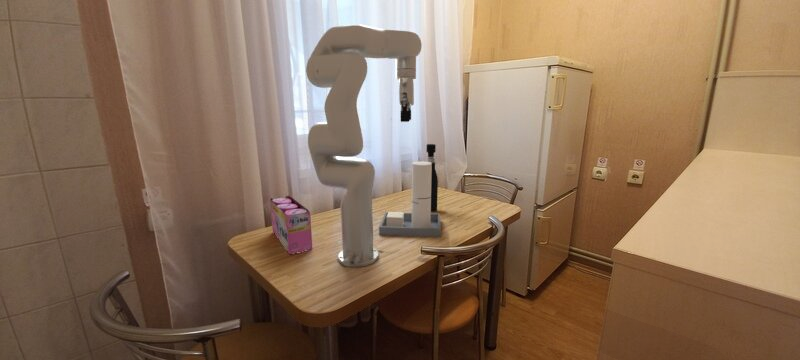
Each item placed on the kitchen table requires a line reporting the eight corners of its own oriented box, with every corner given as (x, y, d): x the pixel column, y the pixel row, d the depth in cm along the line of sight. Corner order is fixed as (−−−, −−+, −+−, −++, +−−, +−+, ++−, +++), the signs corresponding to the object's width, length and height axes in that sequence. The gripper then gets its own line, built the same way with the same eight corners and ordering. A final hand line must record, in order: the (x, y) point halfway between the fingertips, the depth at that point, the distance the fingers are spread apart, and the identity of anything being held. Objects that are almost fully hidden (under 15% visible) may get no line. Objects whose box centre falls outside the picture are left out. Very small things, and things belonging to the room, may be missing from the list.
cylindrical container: (429, 232, 117) (430, 165, 112) (410, 230, 119) (410, 164, 113) (431, 225, 124) (432, 161, 118) (413, 223, 126) (413, 161, 120)
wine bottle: (421, 213, 141) (422, 145, 134) (423, 208, 147) (424, 143, 140) (436, 214, 139) (437, 145, 132) (437, 209, 145) (439, 143, 138)
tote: (440, 239, 113) (440, 229, 112) (379, 237, 116) (379, 227, 115) (439, 223, 129) (439, 213, 128) (385, 221, 131) (385, 212, 130)
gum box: (271, 232, 121) (267, 197, 118) (292, 227, 126) (289, 194, 122) (289, 256, 102) (285, 215, 99) (313, 249, 106) (310, 210, 103)
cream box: (402, 230, 119) (402, 217, 118) (386, 229, 120) (386, 217, 119) (403, 224, 125) (403, 212, 124) (388, 223, 126) (388, 211, 125)
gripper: (414, 72, 112) (414, 122, 116) (417, 76, 128) (416, 119, 132) (393, 72, 112) (393, 122, 116) (398, 76, 129) (398, 119, 133)
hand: (406, 120), depth 124 cm, fingers open, 9 cm apart
